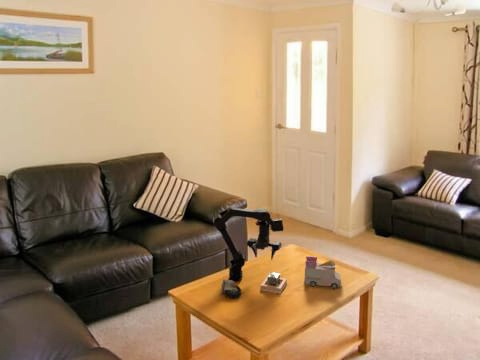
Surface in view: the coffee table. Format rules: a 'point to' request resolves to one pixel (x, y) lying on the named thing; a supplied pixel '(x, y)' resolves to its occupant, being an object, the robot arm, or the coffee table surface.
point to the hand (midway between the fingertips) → (263, 258)
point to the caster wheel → (230, 289)
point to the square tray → (273, 288)
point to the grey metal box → (274, 279)
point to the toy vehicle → (321, 273)
